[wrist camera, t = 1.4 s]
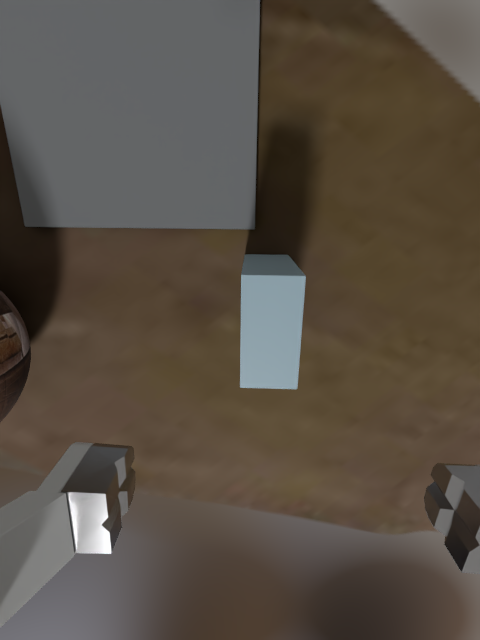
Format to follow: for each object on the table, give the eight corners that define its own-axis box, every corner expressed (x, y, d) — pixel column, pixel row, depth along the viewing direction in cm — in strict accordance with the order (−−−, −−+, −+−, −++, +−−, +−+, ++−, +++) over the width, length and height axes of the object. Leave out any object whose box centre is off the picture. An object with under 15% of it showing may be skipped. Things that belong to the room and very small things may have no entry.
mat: (260, -16, 20) (260, -25, 20) (254, 228, 25) (254, 229, 24) (-15, -13, 21) (-25, -21, 20) (31, 226, 26) (24, 226, 25)
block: (288, 254, 26) (305, 276, 17) (283, 335, 28) (297, 389, 20) (244, 254, 26) (241, 274, 17) (243, 334, 28) (240, 387, 20)
